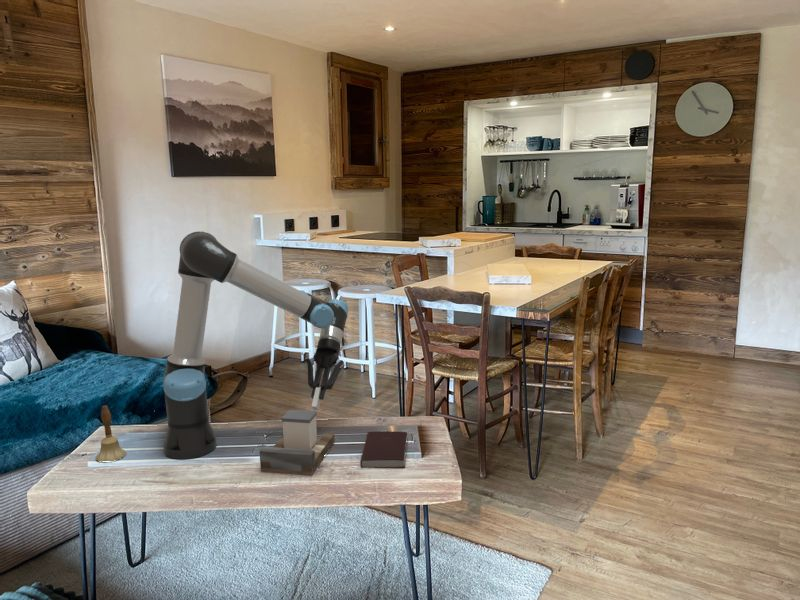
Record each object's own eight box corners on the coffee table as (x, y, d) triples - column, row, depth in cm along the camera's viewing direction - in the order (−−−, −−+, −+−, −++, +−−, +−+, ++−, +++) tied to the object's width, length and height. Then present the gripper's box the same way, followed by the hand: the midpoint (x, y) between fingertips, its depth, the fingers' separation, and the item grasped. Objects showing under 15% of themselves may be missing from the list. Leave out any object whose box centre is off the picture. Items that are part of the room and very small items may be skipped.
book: (360, 469, 173) (359, 458, 173) (367, 439, 192) (367, 429, 191) (404, 470, 173) (404, 459, 172) (407, 440, 191) (407, 430, 191)
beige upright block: (291, 444, 186) (289, 409, 184) (318, 446, 184) (316, 411, 182) (283, 453, 180) (281, 418, 177) (311, 455, 178) (309, 419, 176)
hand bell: (127, 459, 181) (121, 407, 178) (95, 465, 177) (89, 413, 174) (125, 448, 188) (120, 398, 185) (95, 453, 185) (89, 403, 181)
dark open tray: (288, 439, 192) (287, 421, 191) (334, 442, 189) (333, 424, 188) (260, 471, 172) (259, 451, 171) (312, 475, 169) (311, 455, 168)
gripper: (351, 349, 208) (337, 414, 195) (314, 347, 210) (298, 411, 197) (346, 337, 201) (332, 404, 189) (308, 336, 204) (291, 401, 191)
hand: (314, 408), depth 193 cm, fingers closed
